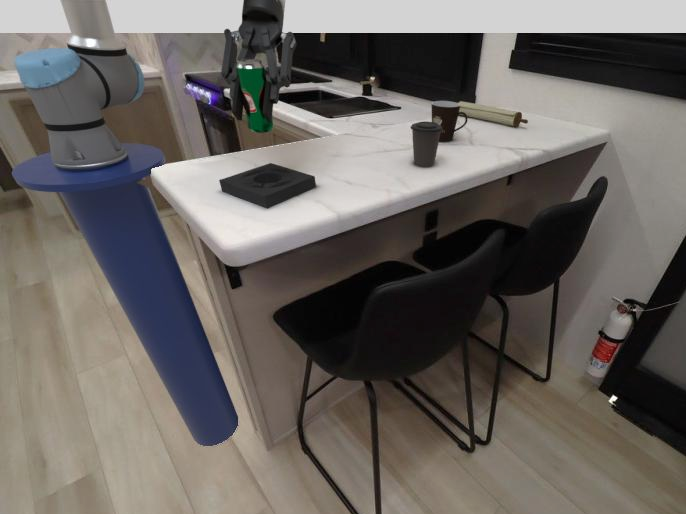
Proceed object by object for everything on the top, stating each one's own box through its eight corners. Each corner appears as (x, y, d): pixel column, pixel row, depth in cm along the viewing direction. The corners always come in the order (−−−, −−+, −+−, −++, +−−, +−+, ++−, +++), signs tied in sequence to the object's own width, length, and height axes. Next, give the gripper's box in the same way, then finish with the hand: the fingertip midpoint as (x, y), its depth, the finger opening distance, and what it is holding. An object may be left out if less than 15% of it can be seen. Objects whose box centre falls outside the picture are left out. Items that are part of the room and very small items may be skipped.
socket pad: (221, 191, 81) (218, 179, 79) (272, 173, 90) (270, 162, 88) (267, 208, 75) (264, 196, 73) (316, 187, 84) (314, 176, 83)
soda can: (244, 129, 76) (229, 59, 69) (267, 125, 79) (255, 58, 72) (255, 134, 74) (241, 62, 66) (279, 130, 76) (268, 61, 69)
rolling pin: (529, 128, 133) (533, 112, 130) (522, 131, 129) (525, 115, 126) (454, 112, 149) (455, 98, 146) (446, 114, 146) (447, 99, 142)
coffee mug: (424, 136, 120) (426, 101, 113) (447, 134, 123) (451, 100, 116) (441, 147, 111) (445, 110, 105) (466, 144, 114) (471, 108, 108)
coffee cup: (445, 164, 99) (450, 124, 93) (424, 171, 95) (428, 129, 88) (423, 156, 104) (426, 117, 97) (402, 163, 99) (403, 122, 93)
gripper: (314, 24, 78) (304, 130, 75) (227, 21, 78) (214, 126, 75) (305, -10, 70) (293, 106, 68) (209, -14, 71) (193, 102, 68)
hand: (251, 116), depth 71 cm, fingers closed on soda can, 5 cm apart
